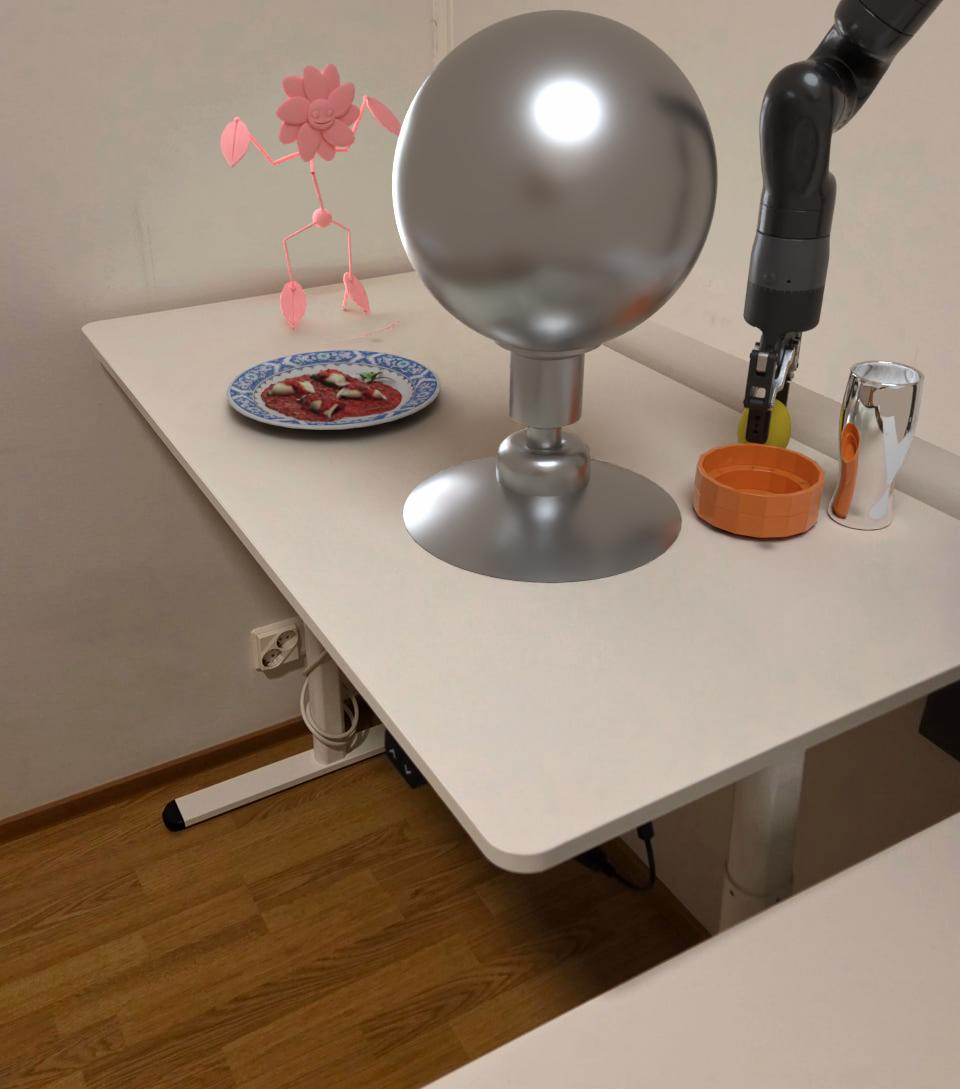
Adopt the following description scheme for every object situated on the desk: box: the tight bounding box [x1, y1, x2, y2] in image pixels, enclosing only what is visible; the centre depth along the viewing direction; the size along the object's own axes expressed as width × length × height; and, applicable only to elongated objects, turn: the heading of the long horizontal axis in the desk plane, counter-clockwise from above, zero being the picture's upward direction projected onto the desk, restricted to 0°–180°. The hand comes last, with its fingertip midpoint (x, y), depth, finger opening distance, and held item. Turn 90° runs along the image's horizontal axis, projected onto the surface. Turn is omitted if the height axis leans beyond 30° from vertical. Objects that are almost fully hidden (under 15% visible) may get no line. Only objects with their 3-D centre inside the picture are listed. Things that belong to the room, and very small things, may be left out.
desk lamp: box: [391, 9, 719, 583], centre depth 99 cm, size 28×28×45 cm
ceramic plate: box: [225, 349, 442, 431], centre depth 134 cm, size 26×26×3 cm
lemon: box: [736, 396, 792, 449], centre depth 118 cm, size 6×6×8 cm
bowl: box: [692, 443, 826, 538], centre depth 108 cm, size 12×12×5 cm
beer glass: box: [827, 360, 925, 531], centre depth 106 cm, size 7×7×15 cm
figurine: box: [220, 63, 402, 337], centre depth 152 cm, size 15×26×35 cm, turn 122°
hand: (765, 427), depth 118 cm, fingers open, 8 cm apart
